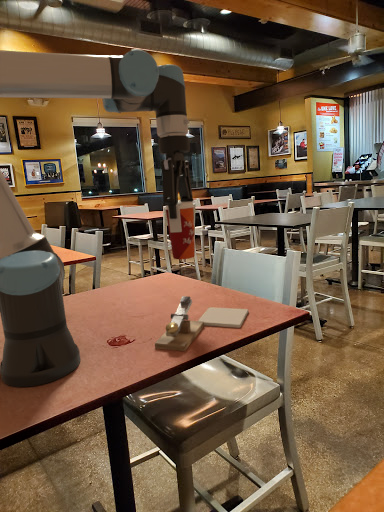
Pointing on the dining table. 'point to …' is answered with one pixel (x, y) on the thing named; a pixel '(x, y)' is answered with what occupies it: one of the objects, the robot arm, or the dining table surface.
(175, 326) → the lever
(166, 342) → the lever base
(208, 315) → the tile
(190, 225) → the paper cup
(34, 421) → the dining table surface
